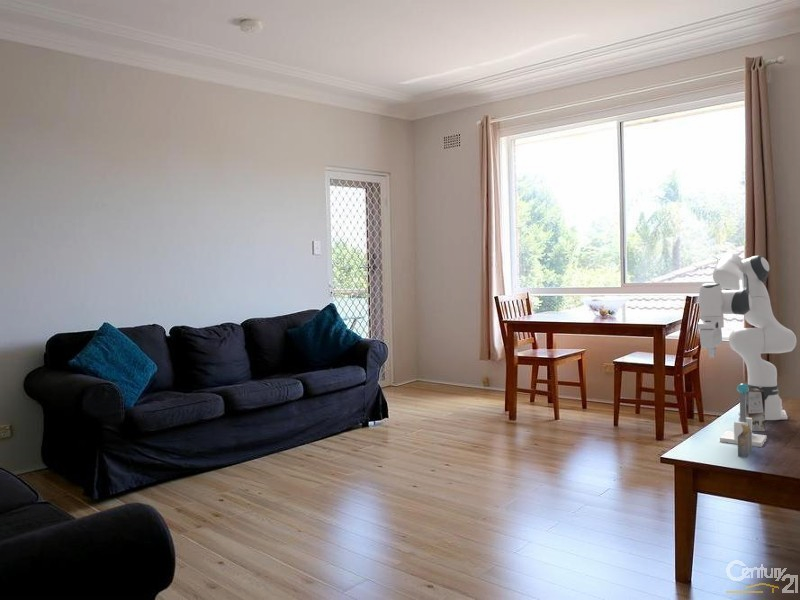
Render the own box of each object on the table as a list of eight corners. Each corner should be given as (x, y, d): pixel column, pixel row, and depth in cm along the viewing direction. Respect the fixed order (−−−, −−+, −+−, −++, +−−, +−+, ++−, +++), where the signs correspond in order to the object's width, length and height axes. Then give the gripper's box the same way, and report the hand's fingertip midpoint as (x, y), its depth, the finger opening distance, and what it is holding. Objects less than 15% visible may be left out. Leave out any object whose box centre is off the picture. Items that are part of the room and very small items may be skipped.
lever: (738, 428, 250) (738, 381, 249) (750, 430, 247) (750, 382, 246) (736, 432, 245) (735, 384, 244) (747, 433, 243) (747, 385, 242)
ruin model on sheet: (742, 449, 237) (742, 423, 236) (751, 450, 235) (751, 424, 234) (736, 457, 228) (736, 430, 227) (746, 458, 226) (745, 431, 225)
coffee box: (765, 431, 258) (765, 391, 257) (748, 431, 259) (747, 391, 258) (757, 425, 267) (757, 387, 266) (741, 425, 268) (740, 387, 267)
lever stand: (726, 434, 255) (726, 414, 255) (766, 439, 247) (766, 418, 246) (719, 441, 246) (719, 421, 245) (761, 446, 237) (761, 425, 237)
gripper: (709, 321, 269) (709, 354, 269) (696, 324, 253) (697, 359, 253) (725, 321, 265) (726, 354, 265) (713, 325, 249) (714, 360, 249)
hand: (712, 357), depth 259 cm, fingers closed
